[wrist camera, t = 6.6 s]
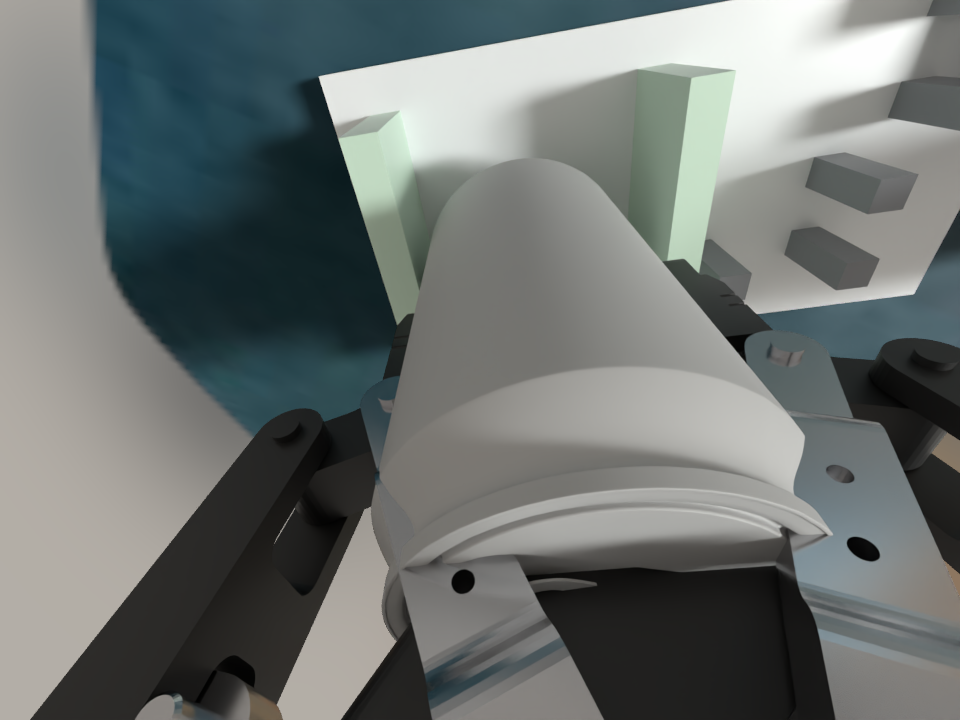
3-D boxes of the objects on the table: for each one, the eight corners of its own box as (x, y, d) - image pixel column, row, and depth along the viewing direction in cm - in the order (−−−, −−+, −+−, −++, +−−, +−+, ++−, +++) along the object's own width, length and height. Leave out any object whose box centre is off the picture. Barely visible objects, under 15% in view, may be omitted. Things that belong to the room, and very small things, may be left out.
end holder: (370, 115, 14) (338, 138, 10) (671, 62, 13) (736, 70, 10) (432, 350, 19) (424, 411, 16) (643, 323, 19) (678, 382, 15)
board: (329, 74, 14) (283, 83, 11) (1059, -61, 12) (1282, -100, 9) (410, 343, 20) (398, 402, 17) (891, 281, 19) (982, 333, 15)
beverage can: (543, 349, 17) (625, 722, 8) (401, 280, 15) (284, 667, 6) (653, 217, 14) (1020, 586, 5) (491, 106, 12) (547, 358, 3)
